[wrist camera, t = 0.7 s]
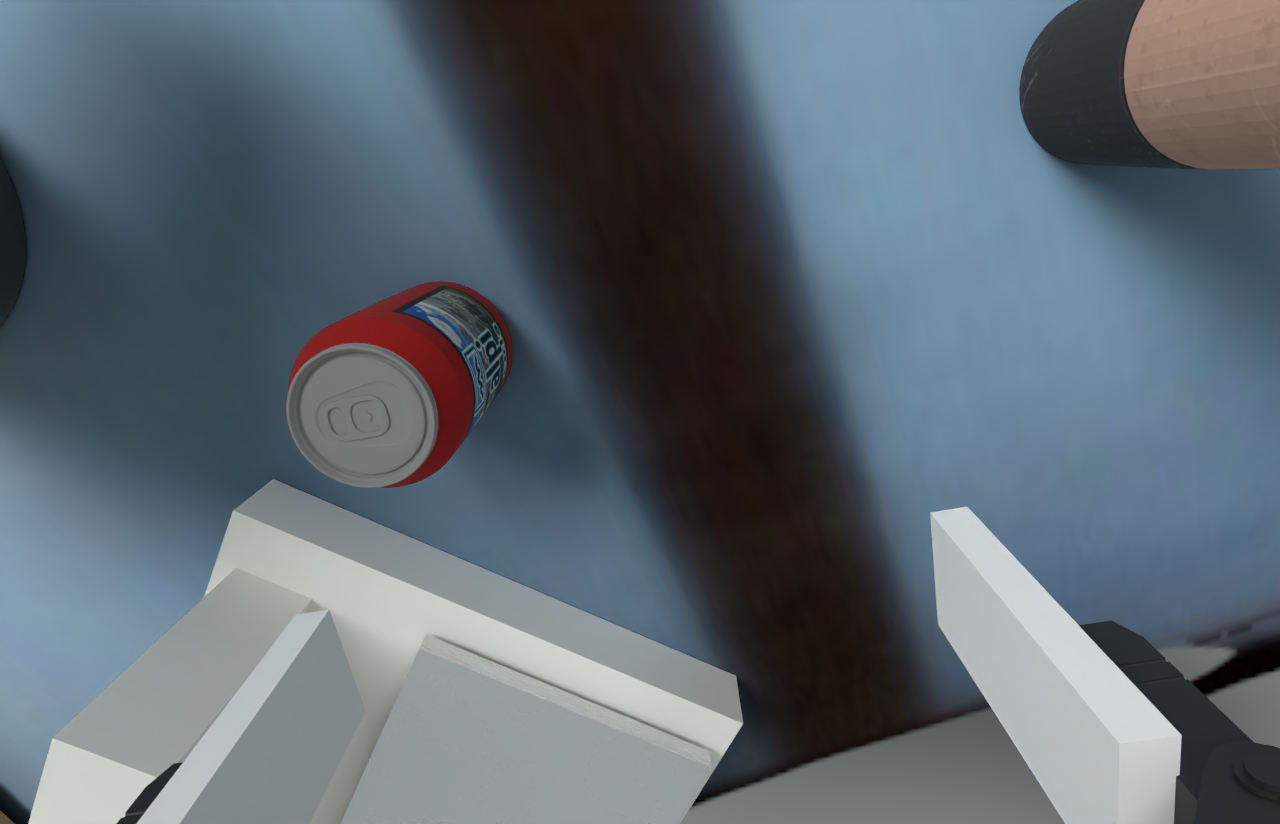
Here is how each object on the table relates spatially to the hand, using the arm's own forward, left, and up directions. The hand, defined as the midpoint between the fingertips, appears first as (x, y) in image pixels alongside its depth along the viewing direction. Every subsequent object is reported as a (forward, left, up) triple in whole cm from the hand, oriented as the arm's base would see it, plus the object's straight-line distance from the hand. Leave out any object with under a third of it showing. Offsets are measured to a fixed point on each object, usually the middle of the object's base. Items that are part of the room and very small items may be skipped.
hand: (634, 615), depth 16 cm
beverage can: (-10, -4, -23) cm, 25 cm away
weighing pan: (+3, -26, -18) cm, 32 cm away
